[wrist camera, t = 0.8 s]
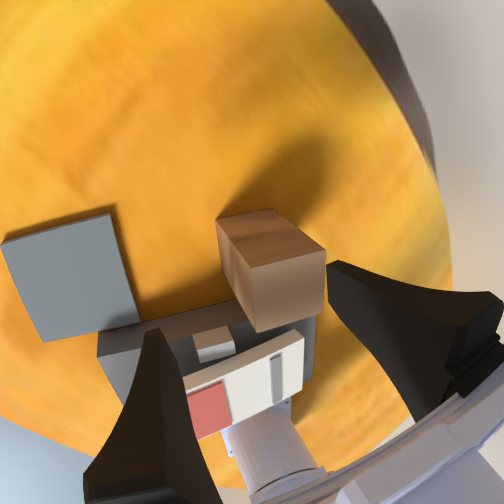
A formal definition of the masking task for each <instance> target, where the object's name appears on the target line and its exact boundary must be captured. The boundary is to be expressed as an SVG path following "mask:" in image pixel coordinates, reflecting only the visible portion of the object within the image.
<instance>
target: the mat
mask: <svg viewBox="0 0 504 504" xmlns="http://www.w3.org/2000/svg"><path fill="white" fill-rule="evenodd" d="M0 247H1V250H2V253H3V256H4V258H5V261H6V263H7V266H8V269H9V271H10V274H11V276H12V278H13V281H14V283H15V286H16V288H17V290H18V292H19V295H20V297H21V299H22V301H23V303H24V306H25V308H26V310H27V312H28V314H29V316H30V318H31V320H32V322H33V324H34V326H35V328H36V330H37V332H38V334H39V336H40V337H41V339H42V341H43V343H44V342H50V341H55V340H60V339H64V338H69V337H74V336H79V335H84V334H88V333H93V332H98V331H102V330H107V329H111V328H116V327H120V326H125V325H129V324H134V323H138V322H141V320H140V315H139V312H138V309H137V306H136V303H135V300H134V296H133V293H132V290H131V287H130V284H129V280H128V277H127V274H126V270H125V267H124V263H123V260H122V256H121V253H120V249H119V245H118V241H117V238H116V234H115V230H114V226H113V222H112V218H111V213H110V212H109V213H105V214H101V215H97V216H93V217H89V218H85V219H81V220H77V221H73V222H69V223H66V224H62V225H58V226H55V227H51V228H47V229H44V230H40V231H37V232H33V233H30V234H27V235H23V236H20V237H17V238H13V239H10V240H7V241H3V242H2V243H1V244H0Z"/></svg>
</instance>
